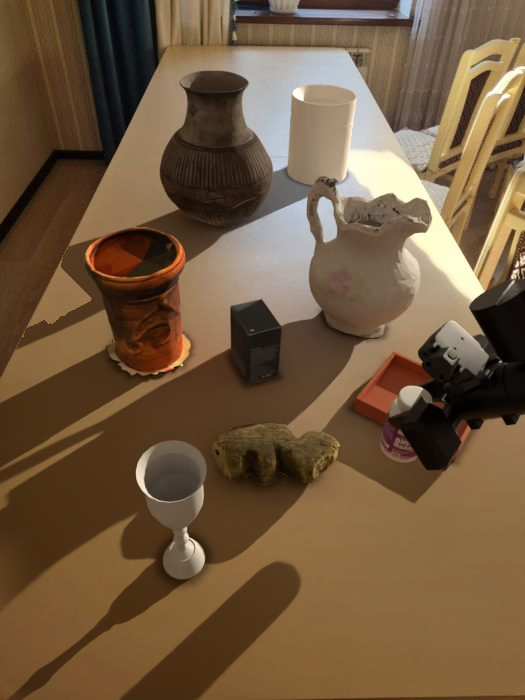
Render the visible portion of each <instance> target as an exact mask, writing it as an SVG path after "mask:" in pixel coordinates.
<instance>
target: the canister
mask: <svg viewBox="0 0 525 700" xmlns="http://www.w3.org/2000/svg"><path fill="white" fill-rule="evenodd" d="M357 97H358V95H357V94H356V92H355V91H353V90H352V89H349V88H346V87H343V86H338V85H333V84H321V83H320V84H319V83H317V84H315V83H314V84H306V85H301V86H298V87H296V88H294V89H292V92H291V102H290V103H291V104H290V117H289V118H290V119H289V135H288V136H289V137H288V139H289V140H288V152H287V168H286V169H287V170H286V173H287V174H288V177H290V178H291V179H292V180H293V181H296V182H298V183H300V184H304V185H308V186H313V185H314V184H315V180H317V179H318V178H319V177H320V176H321V177H322V176H323V177H324V176H325V177H328V178H331V179H333V178H335V179H338V183H336V185H337V184H339V183H341V182H343V181H344V180H345V179H346V178H347V171H348V164H349V158H350V157H349V156H350V149H351V144H352V135H353V127H354V117H355V113H356V106H357Z"/></svg>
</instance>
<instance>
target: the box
mask: <svg viewBox="0 0 525 700" xmlns="http://www.w3.org/2000/svg"><path fill="white" fill-rule="evenodd" d="M229 310H230V311H229V312H230V313H229V314H230V316H229V317H230V319H229V320H230V356H231V358H232V360H233V361H234V363H235V365H236V367H237V369H238V370H239V372H240V374H241V375H242V377H243V379H244V381H245V383H246V384H247V385H251V384H256V383H258V382H262V381H266V380H270V379H274V378H278V377H279V372H280V358H281V345H282V330H283V329H282V328H283V327H282V325H281V324H280V322H279V320H277V318H276V317H275V315H274V314H273V312H272V311H271V310H270V308H269V307H268V305H267V304H266V303H265V301H264V299H262V298H260V299H255V300H251V301H247V302H241V303H238V304H233V305H230V306H229Z"/></svg>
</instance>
